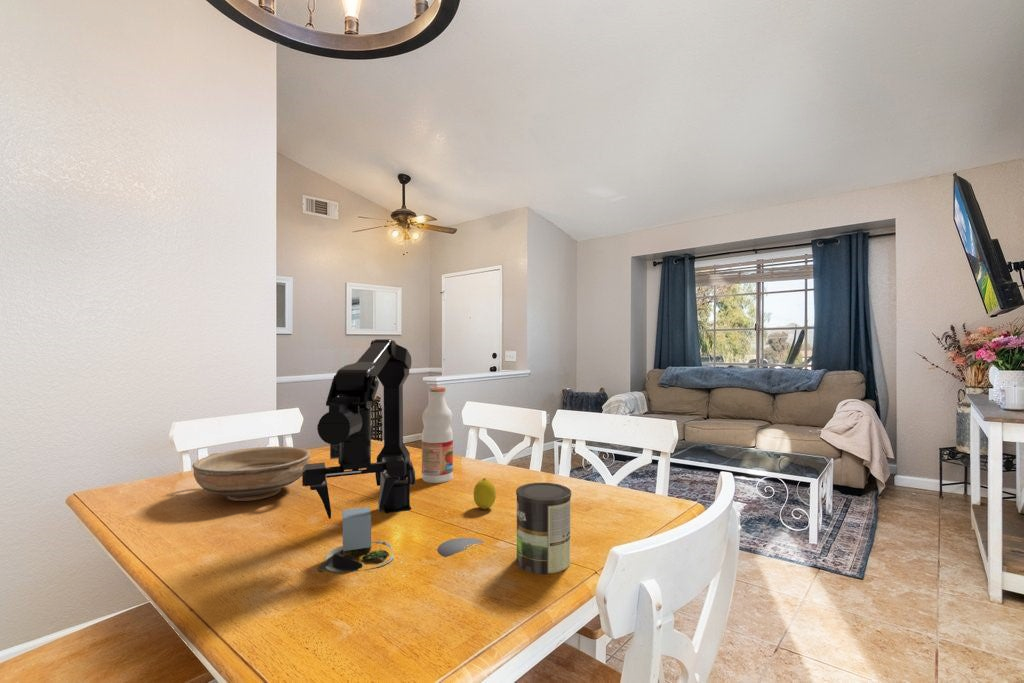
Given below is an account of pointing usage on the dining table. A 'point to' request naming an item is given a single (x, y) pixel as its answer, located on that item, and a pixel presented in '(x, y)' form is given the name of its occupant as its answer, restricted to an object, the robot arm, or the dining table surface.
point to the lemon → (484, 494)
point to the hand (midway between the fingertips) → (355, 514)
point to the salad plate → (347, 561)
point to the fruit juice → (437, 439)
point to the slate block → (356, 528)
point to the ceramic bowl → (251, 471)
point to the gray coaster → (456, 546)
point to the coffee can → (543, 527)
